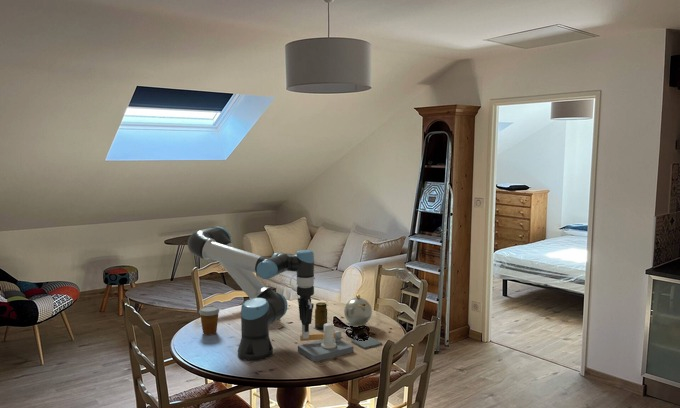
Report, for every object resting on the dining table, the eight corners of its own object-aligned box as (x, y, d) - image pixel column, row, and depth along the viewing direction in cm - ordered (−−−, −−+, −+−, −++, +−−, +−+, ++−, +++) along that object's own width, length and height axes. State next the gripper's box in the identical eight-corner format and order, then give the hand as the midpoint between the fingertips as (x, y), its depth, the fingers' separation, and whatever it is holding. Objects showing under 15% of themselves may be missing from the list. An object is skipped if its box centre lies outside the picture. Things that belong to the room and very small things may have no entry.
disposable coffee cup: (201, 337, 258) (200, 312, 257) (197, 331, 267) (197, 307, 266) (221, 334, 262) (221, 310, 261) (217, 328, 271) (217, 304, 270)
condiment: (322, 323, 278) (322, 300, 277) (333, 328, 272) (333, 304, 270) (310, 327, 274) (310, 303, 272) (321, 331, 267) (321, 307, 266)
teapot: (377, 329, 271) (377, 296, 269) (352, 333, 265) (352, 300, 263) (360, 318, 287) (360, 287, 285) (336, 322, 281) (336, 290, 279)
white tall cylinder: (326, 355, 237) (326, 328, 236) (318, 350, 243) (318, 324, 241) (339, 352, 241) (339, 325, 240) (330, 347, 247) (331, 321, 245)
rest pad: (364, 349, 245) (364, 347, 245) (351, 342, 254) (351, 340, 254) (382, 344, 251) (382, 342, 251) (368, 337, 259) (368, 336, 259)
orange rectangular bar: (300, 341, 243) (300, 335, 243) (299, 339, 246) (299, 333, 246) (341, 338, 247) (342, 332, 247) (340, 336, 250) (340, 330, 249)
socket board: (314, 361, 231) (314, 353, 231) (297, 351, 243) (297, 342, 242) (353, 351, 242) (353, 343, 242) (335, 342, 254) (335, 333, 253)
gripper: (319, 288, 236) (319, 341, 239) (307, 281, 248) (307, 332, 251) (302, 290, 233) (303, 344, 236) (292, 283, 245) (292, 334, 247)
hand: (305, 338), depth 243 cm, fingers closed
